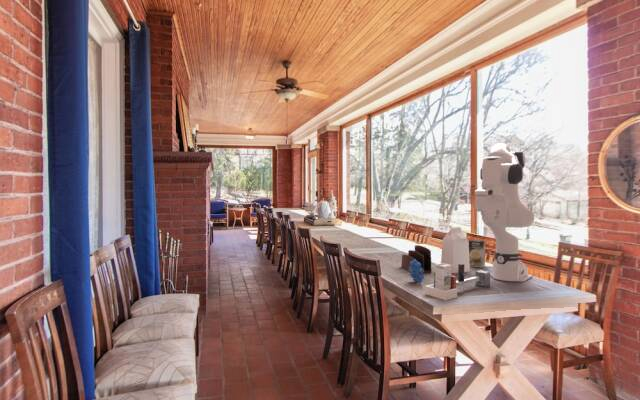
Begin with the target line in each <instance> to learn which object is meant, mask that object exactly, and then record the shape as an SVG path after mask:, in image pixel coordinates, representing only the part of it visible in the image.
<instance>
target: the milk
mask: <svg viewBox="0 0 640 400" xmlns="http://www.w3.org/2000/svg"><path fill="white" fill-rule="evenodd" d="M440 263H445V264H449V265H451V274H458V264H464V273H470V271H471V269H470V267H471V266H470V264H469V239H468V237H467V235H466V234H465V233H464V232H463V231H462V227H461V226H450V227H449V231H447V233H446V235H444V237H443V238H442V245H441V260H440Z"/></svg>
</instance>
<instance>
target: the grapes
mask: <svg viewBox="0 0 640 400" xmlns="http://www.w3.org/2000/svg"><path fill="white" fill-rule="evenodd" d="M420 267H421V264H420V262H417V260H415V259H414V260H413V261H411V262H410V267H409V270H408V271H409V272H408V273H409V275H410V277H411V278H412V280H413V282H414V283H418V284H421V283H422V282H423V280H424V278H425V276H424V273H423V272H424V270H423V269H422V268H420Z"/></svg>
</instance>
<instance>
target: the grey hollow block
mask: <svg viewBox="0 0 640 400" xmlns="http://www.w3.org/2000/svg"><path fill="white" fill-rule="evenodd" d="M490 274H491V271H486V270H482V269H480V270H475V277H476V276H478V277H480V281H476V282H474V283H475V286H479V287H484V288H486V286H487V287H489V286H491V275H490Z"/></svg>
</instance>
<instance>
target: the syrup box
mask: <svg viewBox="0 0 640 400" xmlns="http://www.w3.org/2000/svg"><path fill="white" fill-rule="evenodd" d="M433 265H434V266H433V284H434V288H437V289H441V290H445V291H446V290H450V289H451V275H452V273H451V265H449V264H445V263H441V262H440V263H436V264H433Z"/></svg>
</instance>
